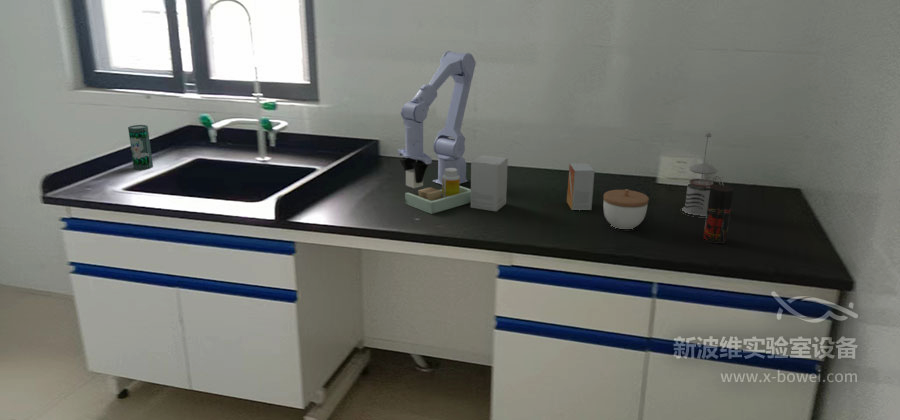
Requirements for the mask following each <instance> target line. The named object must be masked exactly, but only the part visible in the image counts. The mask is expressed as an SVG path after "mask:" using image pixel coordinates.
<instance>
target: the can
mask: <svg viewBox="0 0 900 420" xmlns="http://www.w3.org/2000/svg"><path fill="white" fill-rule="evenodd" d="M127 129H128V136H129V143H130V150H131V151H130V152H131V158H132V164H133V169H134V170H136V171H138V170H139V171H142V170H143V171H145V170H148V169H152V168H154V163H153V156H152V155H153V154H152V149H151V140H150V134H149V125H147V124H134V125H130V126H128V127H127Z"/></svg>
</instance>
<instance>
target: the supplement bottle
mask: <svg viewBox="0 0 900 420" xmlns="http://www.w3.org/2000/svg"><path fill="white" fill-rule="evenodd" d="M460 186H461V184H460V177H459V175H457V169H455V168H446V169H445V174H444V175H443V176H442V185H441V190H442V195H441V198H445V197H449V196H452V195H456V194H459V187H460Z"/></svg>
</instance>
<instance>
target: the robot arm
mask: <svg viewBox="0 0 900 420" xmlns="http://www.w3.org/2000/svg"><path fill="white" fill-rule="evenodd" d="M439 60H440V61H439V64H440V65H439V66H438V68H437V69H436V71H435V73H434V74H433V76H432V77H431V79H430V81H429V83H427V84H423V85H421V86H420V88H419V90H418V91H417V93H416V94H415V95H414V97H412V99H411V100H410V101H408V102H405V103H404V105H403V106H402V108H401V111H400V116H401V117H402V119H403V124H404V128H405V129H404V132H405V133H404V135H405V136H404V137H405V138H404V139H405V140H404V141H405V142H404V143H405V144H404V145H405V148H400V149H399V148H398V149H397V155H398V156H400V157H402V158H400V159H399V161H400V163H401V165H402V167H403V170H404V174H406V170H411V169H414V170H415V178H416V183H421V182H422V181H423V182H424V176H425V173H426V171H427V169H428V167H429V165H430V164H432V161H433V158H432V157H431V156H429V155H427V154H426V153H424V121H425V120H426V119H427V117H428V112H429V109H430V106H431V105H432V104H433V102H434V101H435V100H436V98H437V97H438V90H439V89H440V88H441V86H443V84H444V83H445V82H446V81H447V80H448V79H449V78H450V77H451V78H452V79H453V81H454V85H453V89H452V94H451V98H450V102H449V106H448V111H447V112H448V113H447V116H446V121H445V126H444V128H442V129H441V130H439V131H438V132H437V135H436V138H435V139H434V142H433V146H432V147H433V152H434V153H435V155H436V157H437V158H438V159H437V160H438V162H437V165H438V166H437V170H438V171H437V179H433V180H432V182H433V183H435V184H439V185H441V186H442V176H443V175H444V174H445V169H446V168H455V169H457V175H459V177H460V185H461V184H464V183H467V182H468V179H467V162H466V159H465V158H464V156H463V155H464V153H465V149H466V147H465V146H466V144H465V141H466V137H465V136H464V134H463V133H462V131H461V129H462V125H463V120H464V116H465V112H466V107H467V103H468V98H469V94H470V90H471V85H472V81H473V77H474V73H475V68H476V66H477V65H476V64H477V62H476V60H475V58H474V56H473V54H472V53H470V52H469V53H468V52H467V53H466V52H457V51H450V50H447V51H445V52H444V53H443V54H442V56H441V58H440V59H439Z"/></svg>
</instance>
